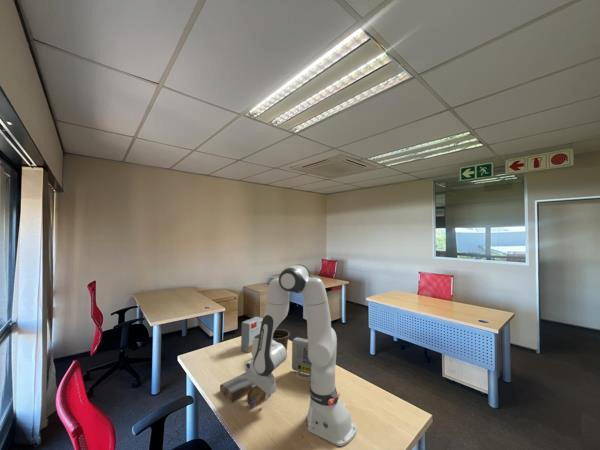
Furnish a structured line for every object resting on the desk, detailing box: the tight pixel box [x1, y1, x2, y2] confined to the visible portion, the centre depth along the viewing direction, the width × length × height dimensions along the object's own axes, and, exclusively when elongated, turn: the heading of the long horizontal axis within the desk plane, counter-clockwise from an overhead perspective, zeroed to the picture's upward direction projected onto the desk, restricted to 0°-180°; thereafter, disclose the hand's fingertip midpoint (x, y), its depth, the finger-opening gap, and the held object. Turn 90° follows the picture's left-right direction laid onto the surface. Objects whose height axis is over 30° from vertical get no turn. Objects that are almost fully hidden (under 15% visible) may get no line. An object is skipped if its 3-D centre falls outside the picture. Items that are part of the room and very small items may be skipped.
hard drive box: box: [240, 316, 263, 353], centre depth 181 cm, size 16×8×20 cm, turn 147°
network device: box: [291, 337, 312, 382], centre depth 145 cm, size 26×9×20 cm, turn 65°
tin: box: [246, 386, 272, 408], centre depth 123 cm, size 15×3×8 cm, turn 138°
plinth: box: [219, 372, 252, 403], centre depth 134 cm, size 12×20×4 cm, turn 137°
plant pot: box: [272, 328, 290, 351], centre depth 167 cm, size 16×16×16 cm
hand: (260, 395), depth 123 cm, fingers open, 8 cm apart
